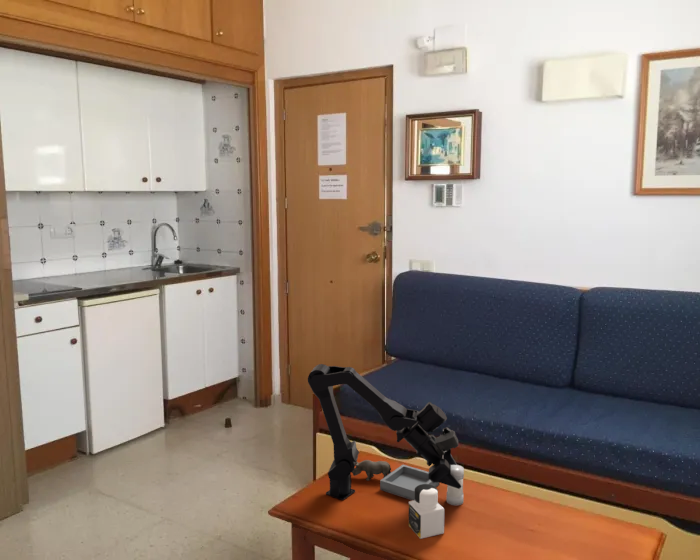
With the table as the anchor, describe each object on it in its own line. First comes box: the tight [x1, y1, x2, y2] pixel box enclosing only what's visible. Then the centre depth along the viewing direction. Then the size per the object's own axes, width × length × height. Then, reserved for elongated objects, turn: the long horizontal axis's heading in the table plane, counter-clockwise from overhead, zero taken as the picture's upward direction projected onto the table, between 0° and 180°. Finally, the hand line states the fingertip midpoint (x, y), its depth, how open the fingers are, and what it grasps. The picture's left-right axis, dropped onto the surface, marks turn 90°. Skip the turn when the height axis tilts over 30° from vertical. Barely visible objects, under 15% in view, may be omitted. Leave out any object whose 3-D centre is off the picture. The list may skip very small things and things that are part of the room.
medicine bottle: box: [408, 484, 445, 540], centre depth 170 cm, size 7×7×12 cm
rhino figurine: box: [351, 459, 392, 481], centre depth 200 cm, size 4×14×6 cm, turn 80°
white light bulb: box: [446, 464, 465, 506], centre depth 185 cm, size 5×5×10 cm
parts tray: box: [379, 464, 440, 501], centre depth 194 cm, size 13×13×3 cm
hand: (460, 479), depth 184 cm, fingers open, 9 cm apart
